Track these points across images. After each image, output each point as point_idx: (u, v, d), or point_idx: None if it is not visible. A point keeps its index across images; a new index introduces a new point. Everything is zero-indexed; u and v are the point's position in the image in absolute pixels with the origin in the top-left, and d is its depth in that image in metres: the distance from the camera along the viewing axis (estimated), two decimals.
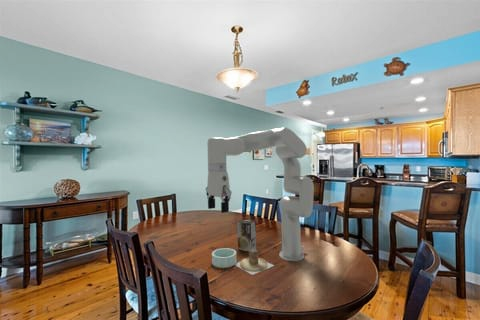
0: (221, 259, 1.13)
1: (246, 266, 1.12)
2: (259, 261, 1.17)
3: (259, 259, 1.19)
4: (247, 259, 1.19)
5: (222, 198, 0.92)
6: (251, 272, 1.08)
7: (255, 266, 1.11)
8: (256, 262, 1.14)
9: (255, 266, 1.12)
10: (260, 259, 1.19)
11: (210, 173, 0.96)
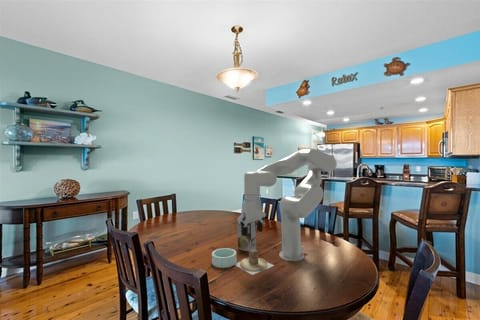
0: (221, 259, 1.13)
1: (246, 266, 1.12)
2: (259, 261, 1.17)
3: (259, 259, 1.19)
4: (247, 259, 1.19)
5: (262, 220, 1.17)
6: (251, 272, 1.08)
7: (255, 266, 1.11)
8: (256, 262, 1.14)
9: (255, 266, 1.11)
10: (260, 259, 1.19)
11: (253, 202, 1.12)
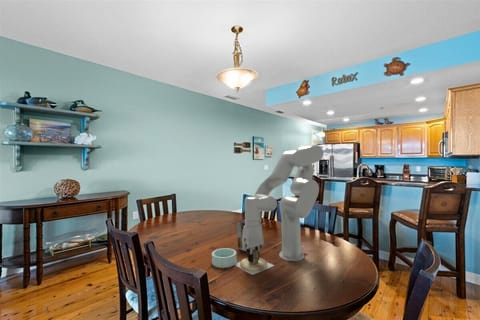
0: (221, 259, 1.13)
1: (246, 266, 1.12)
2: (259, 261, 1.17)
3: (259, 259, 1.19)
4: (247, 259, 1.19)
5: (259, 248, 1.16)
6: (251, 272, 1.08)
7: (255, 266, 1.11)
8: (256, 262, 1.14)
9: (255, 266, 1.11)
10: (260, 259, 1.19)
11: (254, 228, 1.12)
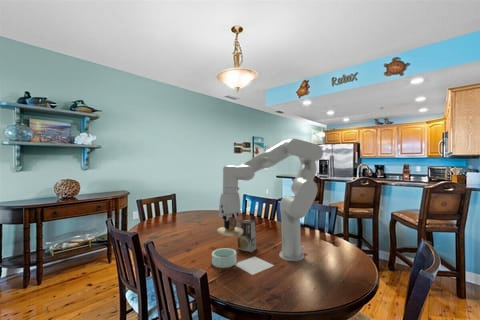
0: (221, 259, 1.13)
1: (222, 232, 1.14)
2: (236, 229, 1.19)
3: (236, 227, 1.21)
4: (224, 227, 1.22)
5: (236, 216, 1.19)
6: (251, 272, 1.08)
7: (231, 232, 1.13)
8: (232, 229, 1.17)
9: (231, 232, 1.14)
10: (237, 227, 1.22)
11: (231, 195, 1.15)
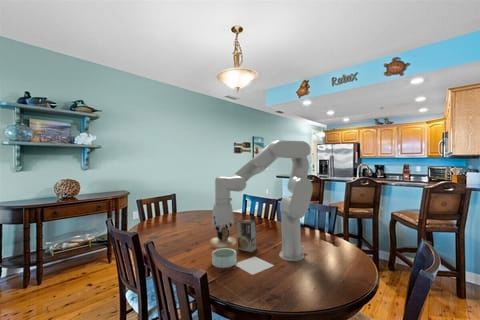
0: (221, 259, 1.13)
1: (215, 243, 1.15)
2: (229, 239, 1.20)
3: (229, 237, 1.23)
4: None
5: (229, 226, 1.20)
6: (251, 272, 1.08)
7: (223, 243, 1.15)
8: (225, 239, 1.18)
9: (224, 243, 1.15)
10: (230, 237, 1.23)
11: (223, 206, 1.16)
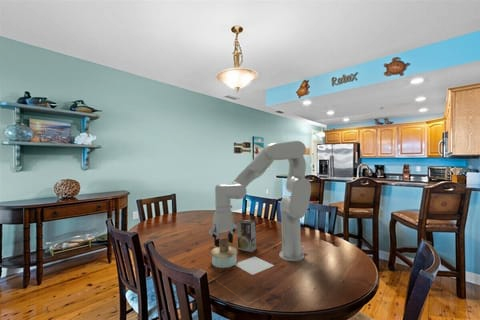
0: (221, 259, 1.13)
1: (216, 253, 1.15)
2: (230, 249, 1.20)
3: (230, 247, 1.23)
4: (219, 247, 1.23)
5: (232, 231, 1.21)
6: (251, 272, 1.08)
7: (224, 254, 1.15)
8: (226, 250, 1.18)
9: (225, 253, 1.15)
10: (231, 247, 1.23)
11: (223, 214, 1.16)
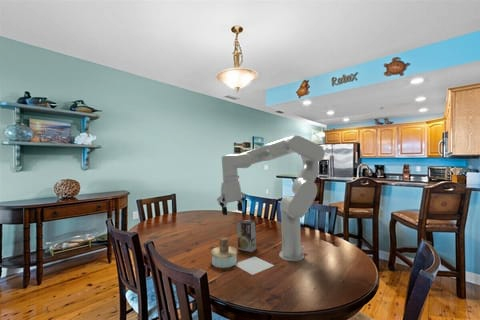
0: (221, 259, 1.13)
1: (216, 253, 1.15)
2: (230, 249, 1.20)
3: (230, 247, 1.23)
4: (219, 247, 1.23)
5: (241, 200, 1.23)
6: (251, 272, 1.08)
7: (224, 254, 1.15)
8: (226, 250, 1.18)
9: (225, 253, 1.15)
10: (231, 247, 1.23)
11: (231, 183, 1.18)
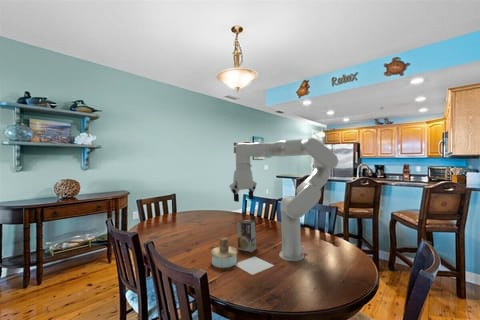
0: (221, 259, 1.13)
1: (216, 253, 1.15)
2: (230, 249, 1.20)
3: (230, 247, 1.23)
4: (219, 247, 1.23)
5: (253, 188, 1.26)
6: (251, 272, 1.08)
7: (224, 254, 1.15)
8: (226, 250, 1.18)
9: (225, 253, 1.15)
10: (231, 247, 1.23)
11: (244, 171, 1.21)
